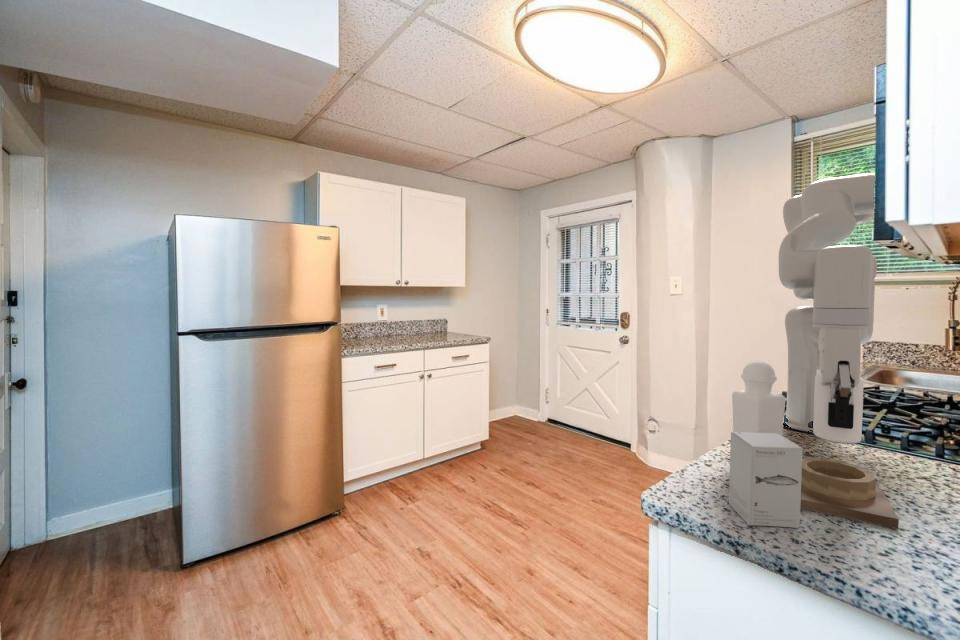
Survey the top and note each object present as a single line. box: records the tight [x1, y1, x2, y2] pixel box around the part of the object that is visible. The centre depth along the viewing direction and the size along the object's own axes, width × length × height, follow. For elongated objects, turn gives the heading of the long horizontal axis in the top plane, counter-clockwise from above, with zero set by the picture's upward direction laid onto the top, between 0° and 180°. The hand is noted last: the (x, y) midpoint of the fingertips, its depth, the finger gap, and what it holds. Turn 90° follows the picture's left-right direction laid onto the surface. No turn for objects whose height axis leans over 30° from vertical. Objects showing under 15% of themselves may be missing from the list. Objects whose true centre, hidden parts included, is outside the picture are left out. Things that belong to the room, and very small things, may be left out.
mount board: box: [800, 457, 900, 530], centre depth 75 cm, size 18×13×4 cm
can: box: [812, 370, 864, 445], centre depth 74 cm, size 6×6×12 cm
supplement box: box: [728, 431, 804, 529], centre depth 68 cm, size 7×7×13 cm
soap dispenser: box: [731, 360, 786, 436], centre depth 86 cm, size 6×6×22 cm
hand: (837, 421), depth 75 cm, fingers closed on can, 6 cm apart
